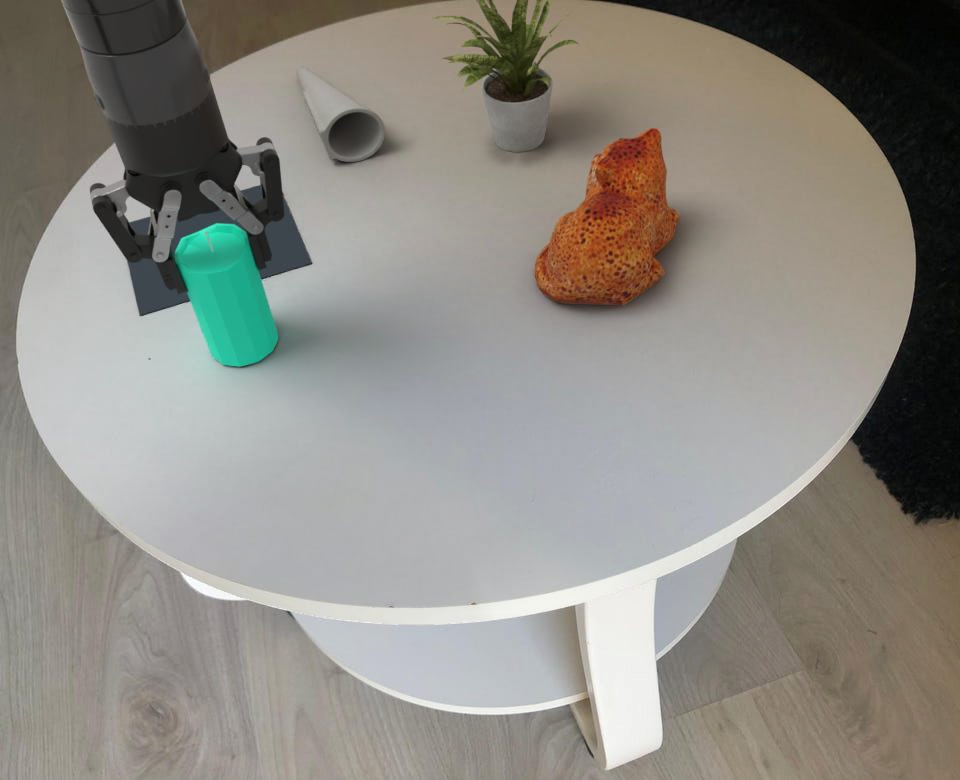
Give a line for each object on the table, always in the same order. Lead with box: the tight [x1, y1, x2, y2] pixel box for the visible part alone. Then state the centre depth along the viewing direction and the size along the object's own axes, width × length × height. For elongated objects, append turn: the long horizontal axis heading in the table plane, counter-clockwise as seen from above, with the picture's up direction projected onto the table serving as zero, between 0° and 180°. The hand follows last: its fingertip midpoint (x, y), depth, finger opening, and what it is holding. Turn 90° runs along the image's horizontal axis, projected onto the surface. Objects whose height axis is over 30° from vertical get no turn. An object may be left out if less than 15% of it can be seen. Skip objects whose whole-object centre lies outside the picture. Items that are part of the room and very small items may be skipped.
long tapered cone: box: [295, 65, 386, 163], centre depth 107 cm, size 6×6×19 cm
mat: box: [126, 184, 313, 317], centre depth 95 cm, size 16×14×1 cm
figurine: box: [533, 127, 681, 307], centre depth 85 cm, size 15×11×10 cm
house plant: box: [433, 0, 582, 153], centre depth 97 cm, size 14×14×16 cm
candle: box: [174, 223, 280, 368], centre depth 81 cm, size 6×6×12 cm
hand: (220, 274), depth 80 cm, fingers closed on candle, 6 cm apart
